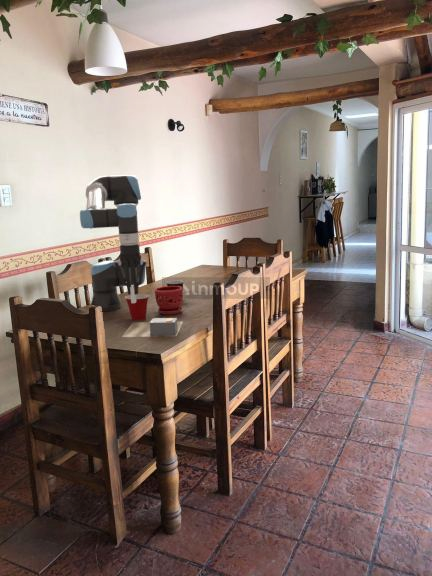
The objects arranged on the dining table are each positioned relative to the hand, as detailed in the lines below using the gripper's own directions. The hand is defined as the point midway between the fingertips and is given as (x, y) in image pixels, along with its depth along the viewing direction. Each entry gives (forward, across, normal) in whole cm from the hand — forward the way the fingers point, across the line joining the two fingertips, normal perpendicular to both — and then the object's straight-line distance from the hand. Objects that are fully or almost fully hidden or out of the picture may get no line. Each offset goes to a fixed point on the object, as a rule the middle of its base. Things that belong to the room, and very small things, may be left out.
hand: (133, 302), depth 192 cm
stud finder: (+13, +12, -2) cm, 17 cm away
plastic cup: (+15, -4, +21) cm, 26 cm away
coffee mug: (+15, +8, +59) cm, 61 cm away
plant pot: (+15, +8, +35) cm, 39 cm away
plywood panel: (+14, +6, +4) cm, 16 cm away
